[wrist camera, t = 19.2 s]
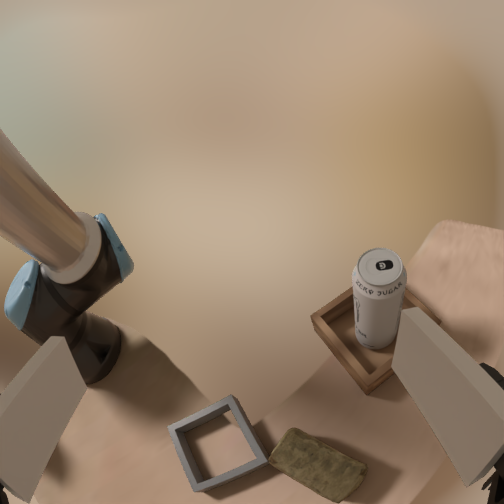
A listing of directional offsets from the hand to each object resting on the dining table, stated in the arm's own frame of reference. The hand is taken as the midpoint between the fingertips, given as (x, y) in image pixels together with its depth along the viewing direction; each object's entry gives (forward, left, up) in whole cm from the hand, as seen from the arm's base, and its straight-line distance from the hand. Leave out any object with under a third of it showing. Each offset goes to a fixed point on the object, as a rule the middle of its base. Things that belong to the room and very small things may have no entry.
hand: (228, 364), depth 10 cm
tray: (-6, -12, -30) cm, 33 cm away
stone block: (+3, -1, -31) cm, 31 cm away
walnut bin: (-8, +15, -30) cm, 35 cm away
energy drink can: (-8, +15, -29) cm, 34 cm away
